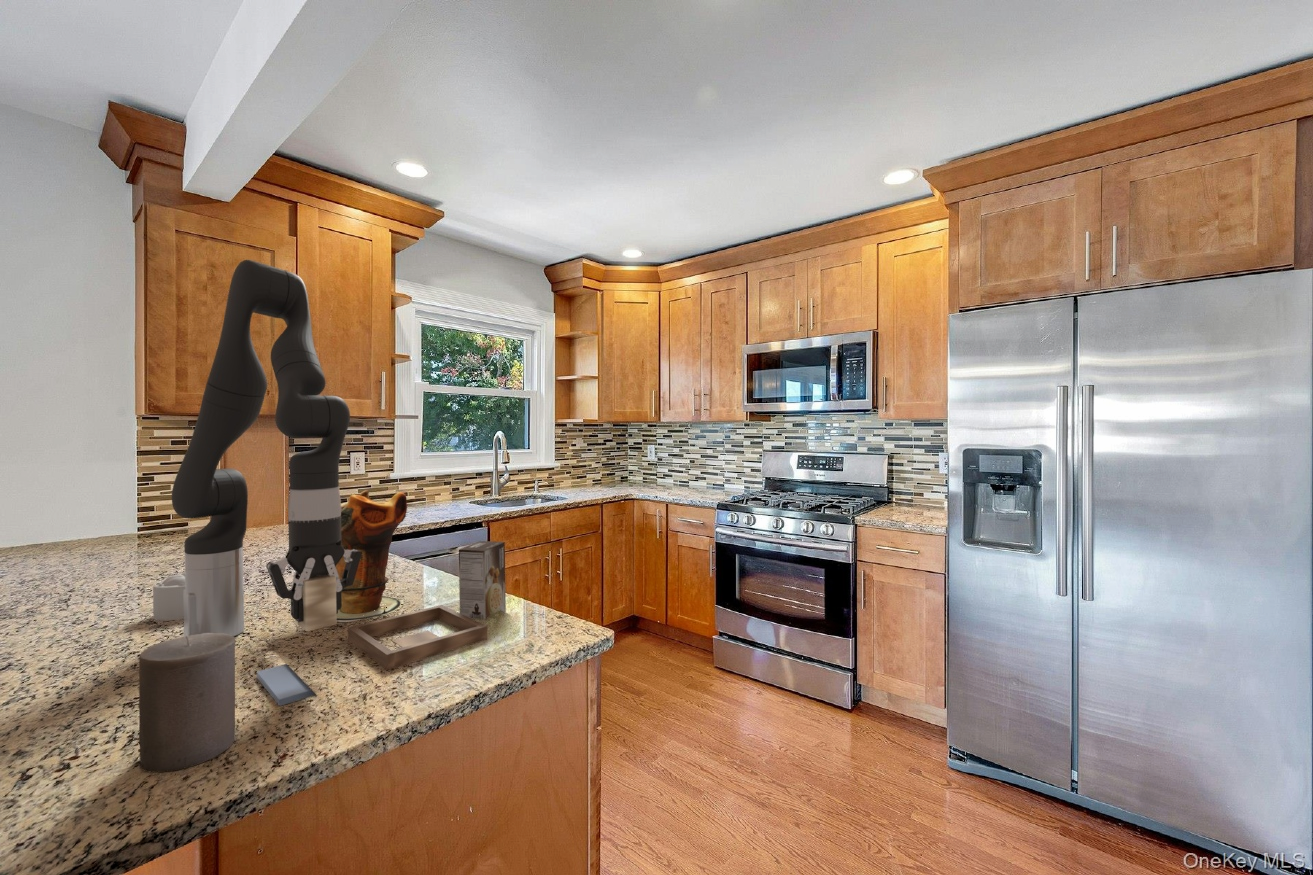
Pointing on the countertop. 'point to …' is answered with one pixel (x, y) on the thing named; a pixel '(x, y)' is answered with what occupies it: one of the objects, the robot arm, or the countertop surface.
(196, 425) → the robot arm
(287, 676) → the pad
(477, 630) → the brown wooden square frame
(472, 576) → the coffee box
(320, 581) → the maple block
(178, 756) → the pillar candle
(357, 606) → the decorative vase
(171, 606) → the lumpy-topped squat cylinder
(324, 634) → the countertop surface
